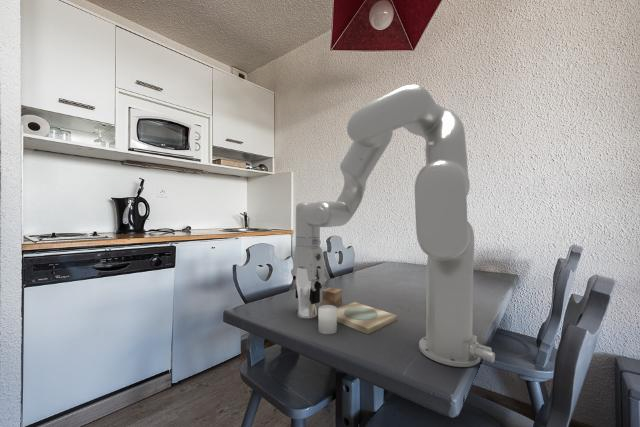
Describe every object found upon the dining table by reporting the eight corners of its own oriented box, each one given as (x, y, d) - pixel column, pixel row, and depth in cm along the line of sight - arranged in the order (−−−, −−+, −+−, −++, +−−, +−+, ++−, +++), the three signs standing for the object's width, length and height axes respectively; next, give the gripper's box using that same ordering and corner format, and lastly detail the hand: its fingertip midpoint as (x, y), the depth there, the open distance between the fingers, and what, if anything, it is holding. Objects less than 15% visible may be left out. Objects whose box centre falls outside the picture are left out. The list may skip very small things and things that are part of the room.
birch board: (397, 320, 81) (397, 314, 81) (368, 334, 71) (368, 327, 71) (355, 306, 92) (355, 301, 92) (325, 317, 83) (325, 311, 83)
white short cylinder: (340, 330, 73) (340, 308, 73) (327, 336, 70) (327, 312, 70) (327, 324, 77) (327, 303, 77) (314, 329, 74) (314, 307, 74)
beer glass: (315, 320, 80) (316, 269, 80) (293, 318, 82) (293, 268, 82) (320, 311, 87) (320, 264, 87) (299, 310, 88) (299, 264, 88)
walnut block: (341, 303, 95) (341, 289, 95) (335, 307, 91) (335, 292, 91) (329, 301, 98) (329, 287, 98) (322, 305, 94) (322, 290, 94)
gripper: (336, 244, 81) (336, 304, 81) (299, 239, 93) (299, 291, 93) (317, 246, 75) (317, 310, 75) (281, 241, 88) (281, 296, 88)
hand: (307, 299), depth 84 cm, fingers closed on beer glass, 6 cm apart
